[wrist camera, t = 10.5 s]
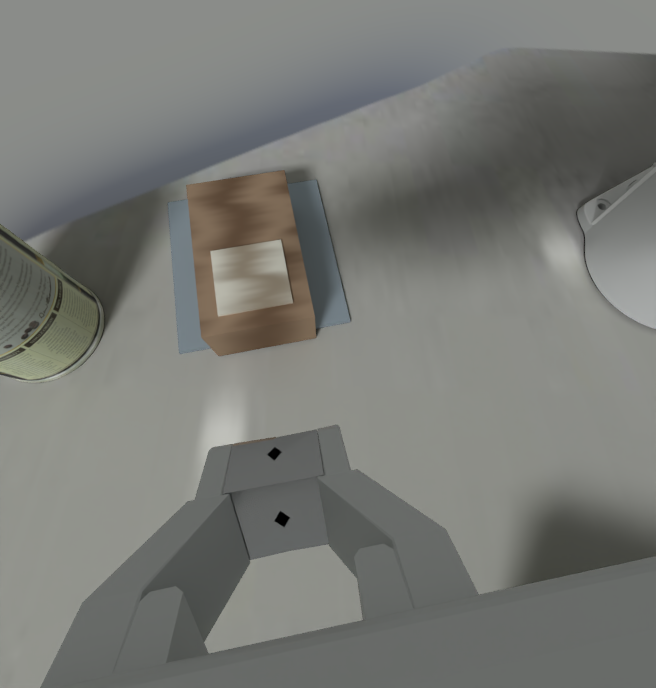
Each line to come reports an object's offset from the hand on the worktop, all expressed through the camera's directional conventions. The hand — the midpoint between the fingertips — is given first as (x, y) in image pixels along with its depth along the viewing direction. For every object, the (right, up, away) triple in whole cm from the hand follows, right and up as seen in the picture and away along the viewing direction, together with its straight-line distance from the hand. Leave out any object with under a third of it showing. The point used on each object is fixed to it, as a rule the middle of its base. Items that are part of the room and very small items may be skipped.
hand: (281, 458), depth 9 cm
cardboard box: (-4, +3, +22) cm, 23 cm away
